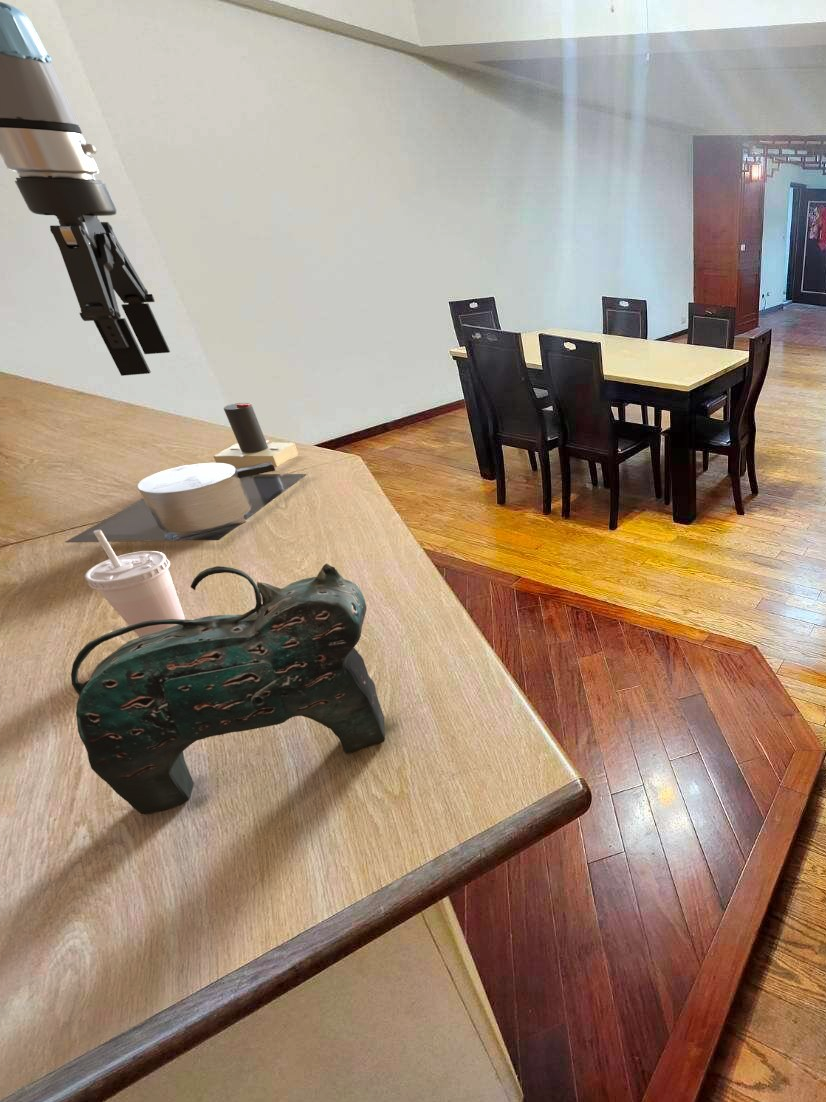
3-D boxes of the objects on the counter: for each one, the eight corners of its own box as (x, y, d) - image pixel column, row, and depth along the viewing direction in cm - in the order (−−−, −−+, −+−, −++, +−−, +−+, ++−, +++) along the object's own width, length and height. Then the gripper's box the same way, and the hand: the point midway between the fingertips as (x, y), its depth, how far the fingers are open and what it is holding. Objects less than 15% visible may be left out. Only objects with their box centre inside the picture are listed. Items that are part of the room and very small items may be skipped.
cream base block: (216, 470, 106) (210, 456, 104) (244, 453, 113) (239, 440, 111) (276, 470, 107) (270, 456, 105) (300, 453, 114) (295, 440, 112)
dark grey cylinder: (236, 452, 106) (217, 407, 102) (249, 444, 110) (231, 401, 106) (259, 452, 107) (241, 407, 103) (272, 445, 110) (255, 401, 106)
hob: (66, 545, 82) (64, 542, 82) (187, 476, 103) (185, 474, 103) (220, 542, 84) (218, 539, 84) (308, 476, 105) (307, 473, 105)
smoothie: (128, 636, 66) (59, 527, 59) (200, 614, 70) (144, 509, 63) (132, 664, 62) (59, 551, 55) (208, 639, 66) (150, 530, 59)
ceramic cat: (404, 705, 59) (342, 530, 49) (407, 751, 54) (339, 568, 44) (146, 779, 51) (6, 587, 40) (122, 841, 46) (-44, 642, 36)
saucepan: (166, 546, 82) (141, 500, 78) (156, 519, 89) (133, 475, 85) (296, 513, 92) (279, 470, 88) (279, 491, 98) (262, 450, 95)
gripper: (69, 175, 61) (166, 380, 72) (126, 179, 79) (196, 343, 90) (-36, 171, 58) (82, 388, 68) (49, 177, 76) (132, 347, 87)
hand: (147, 363), depth 79 cm, fingers open, 13 cm apart
